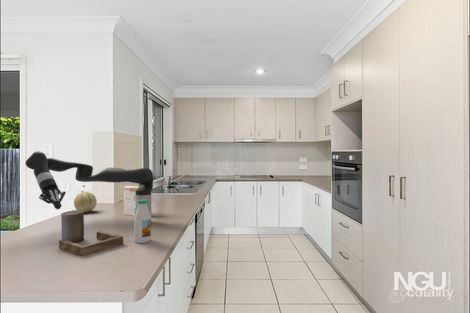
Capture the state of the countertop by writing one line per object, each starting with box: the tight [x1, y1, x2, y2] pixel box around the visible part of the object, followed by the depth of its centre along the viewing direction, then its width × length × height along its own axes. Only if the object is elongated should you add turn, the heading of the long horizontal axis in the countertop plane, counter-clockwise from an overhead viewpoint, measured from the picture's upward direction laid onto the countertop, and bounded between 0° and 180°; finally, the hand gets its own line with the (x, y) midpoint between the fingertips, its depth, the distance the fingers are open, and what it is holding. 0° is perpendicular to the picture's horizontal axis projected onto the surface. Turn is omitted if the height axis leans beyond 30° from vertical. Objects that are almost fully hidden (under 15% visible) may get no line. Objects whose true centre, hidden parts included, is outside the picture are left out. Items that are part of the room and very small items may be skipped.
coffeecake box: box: [123, 185, 139, 217], centre depth 205 cm, size 15×7×20 cm, turn 58°
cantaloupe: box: [73, 190, 98, 213], centre depth 212 cm, size 15×15×15 cm
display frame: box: [58, 230, 124, 257], centre depth 136 cm, size 18×20×4 cm
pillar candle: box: [60, 210, 85, 243], centre depth 145 cm, size 10×10×15 cm
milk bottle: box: [133, 199, 152, 244], centre depth 144 cm, size 8×8×20 cm
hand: (58, 208), depth 151 cm, fingers closed
